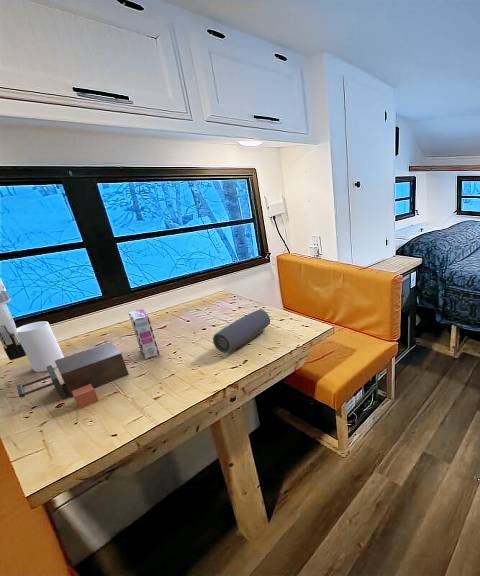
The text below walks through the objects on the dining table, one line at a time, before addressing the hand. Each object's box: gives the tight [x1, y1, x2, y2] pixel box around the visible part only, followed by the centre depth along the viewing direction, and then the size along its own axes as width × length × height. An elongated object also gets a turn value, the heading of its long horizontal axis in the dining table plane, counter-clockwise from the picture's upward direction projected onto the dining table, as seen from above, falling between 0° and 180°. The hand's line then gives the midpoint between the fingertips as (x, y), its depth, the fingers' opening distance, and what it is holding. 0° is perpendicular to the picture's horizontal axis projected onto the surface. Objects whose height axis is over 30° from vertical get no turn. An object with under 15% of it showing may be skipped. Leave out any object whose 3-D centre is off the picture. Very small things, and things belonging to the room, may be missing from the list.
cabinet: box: [55, 341, 130, 398], centre depth 103 cm, size 15×13×9 cm
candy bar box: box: [128, 308, 161, 360], centre depth 116 cm, size 11×5×16 cm, turn 45°
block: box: [71, 384, 100, 410], centre depth 92 cm, size 4×4×4 cm
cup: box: [16, 320, 65, 373], centre depth 110 cm, size 8×8×16 cm
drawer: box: [16, 365, 66, 399], centre depth 98 cm, size 21×11×7 cm, turn 142°
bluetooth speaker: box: [212, 309, 271, 354], centre depth 124 cm, size 23×9×10 cm, turn 161°
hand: (18, 357), depth 89 cm, fingers closed
